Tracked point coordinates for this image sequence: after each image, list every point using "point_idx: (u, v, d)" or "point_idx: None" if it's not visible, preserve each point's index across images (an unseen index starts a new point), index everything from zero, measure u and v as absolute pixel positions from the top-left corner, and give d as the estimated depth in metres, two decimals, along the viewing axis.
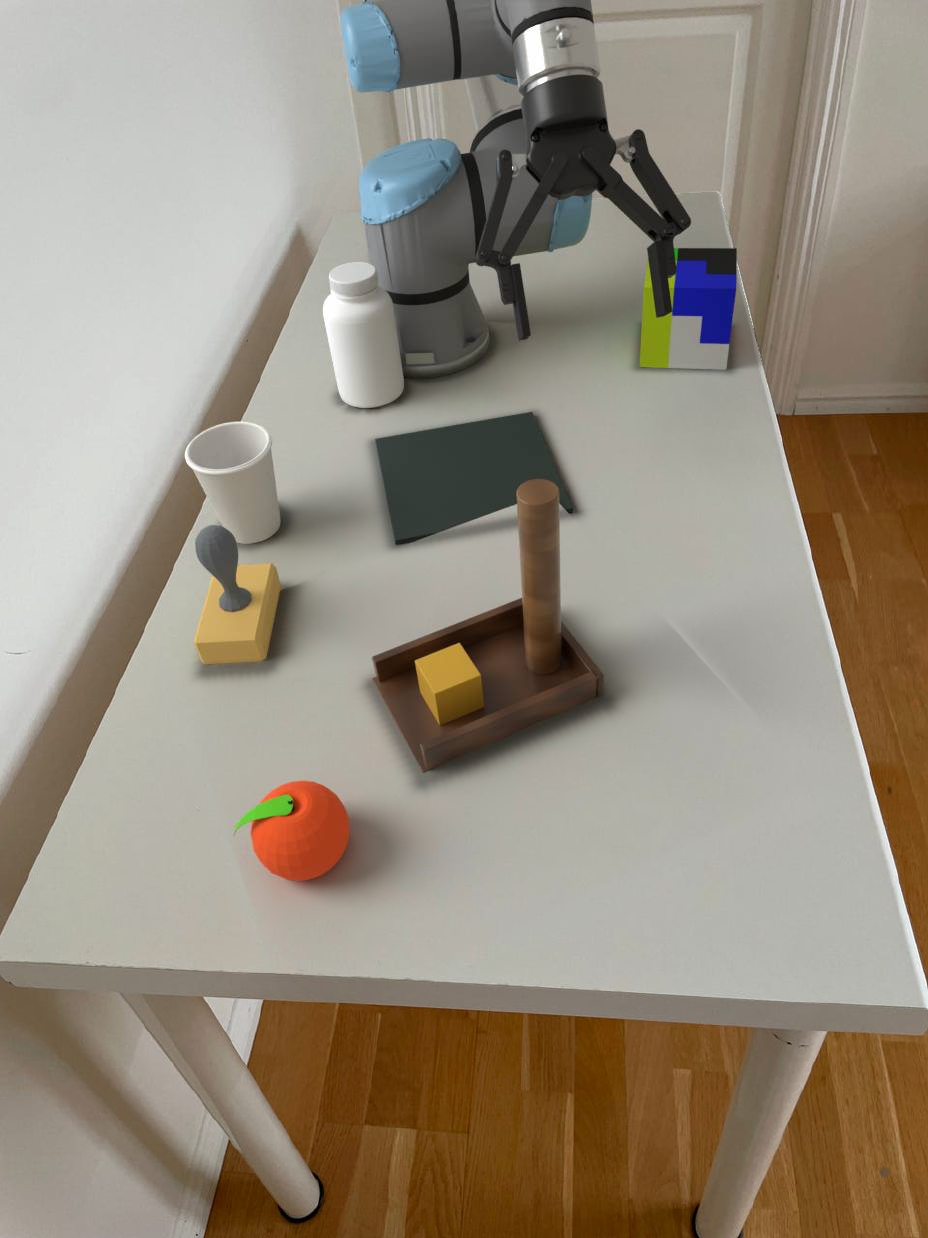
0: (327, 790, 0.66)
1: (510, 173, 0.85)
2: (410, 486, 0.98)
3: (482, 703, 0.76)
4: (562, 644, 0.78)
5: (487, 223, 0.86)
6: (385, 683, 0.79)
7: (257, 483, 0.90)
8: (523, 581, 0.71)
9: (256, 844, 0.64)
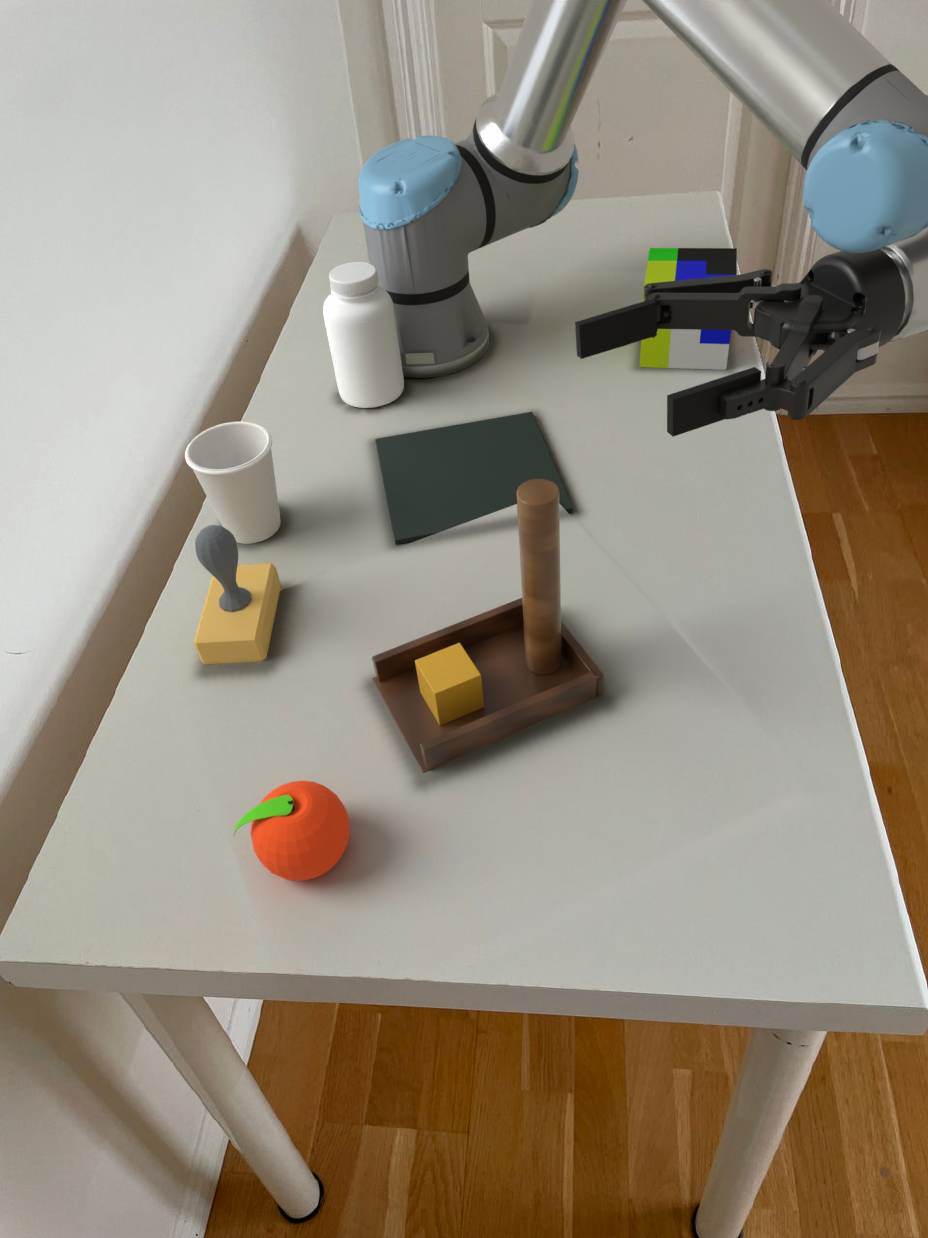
0: (327, 790, 0.66)
1: None
2: (410, 486, 0.98)
3: (482, 703, 0.76)
4: (562, 644, 0.78)
5: (823, 399, 0.62)
6: (385, 683, 0.79)
7: (257, 483, 0.90)
8: (523, 581, 0.71)
9: (256, 844, 0.64)
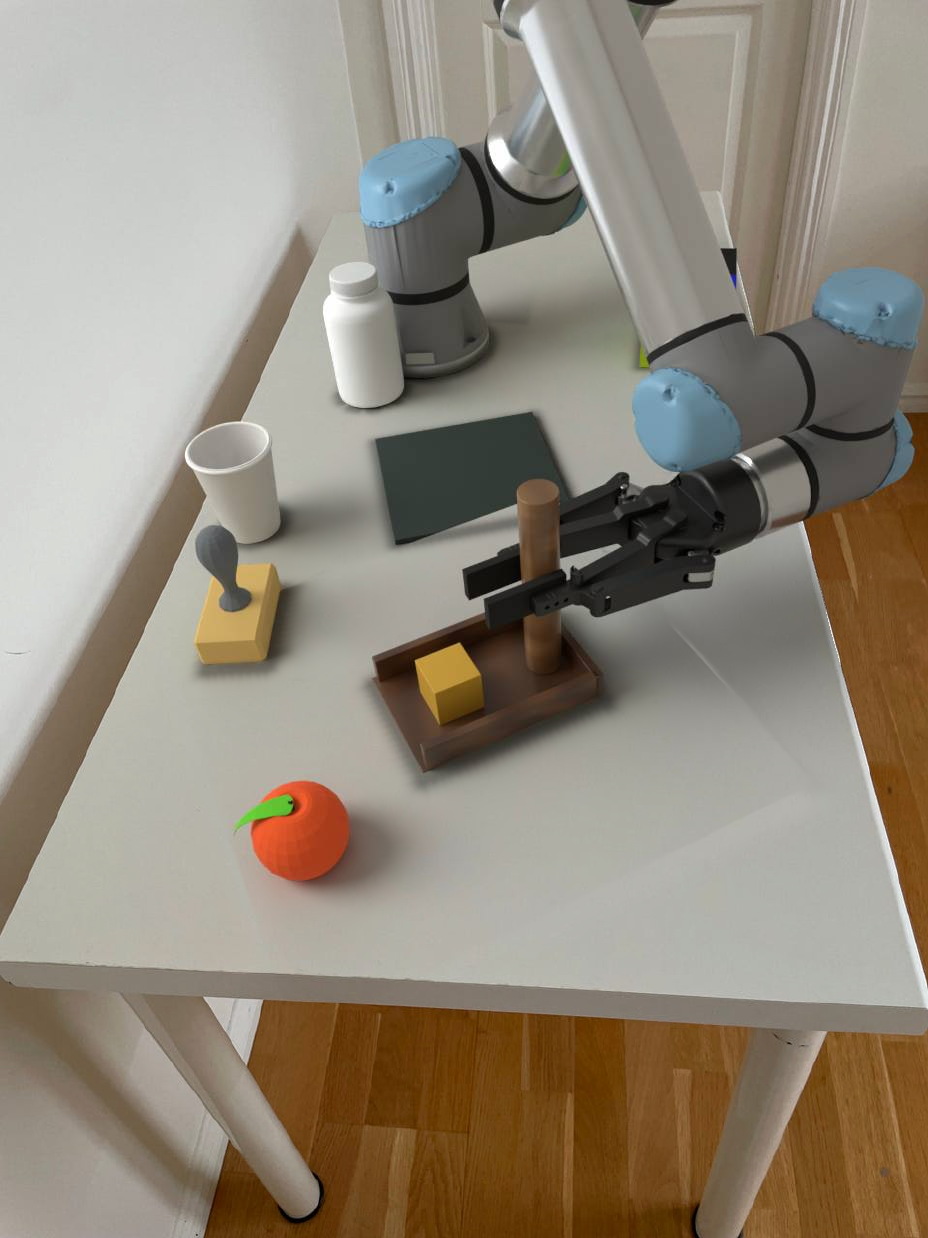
0: (327, 790, 0.66)
1: None
2: (410, 486, 0.98)
3: (482, 703, 0.76)
4: (562, 644, 0.78)
5: (631, 605, 0.70)
6: (385, 683, 0.79)
7: (257, 483, 0.90)
8: (523, 581, 0.71)
9: (256, 844, 0.64)
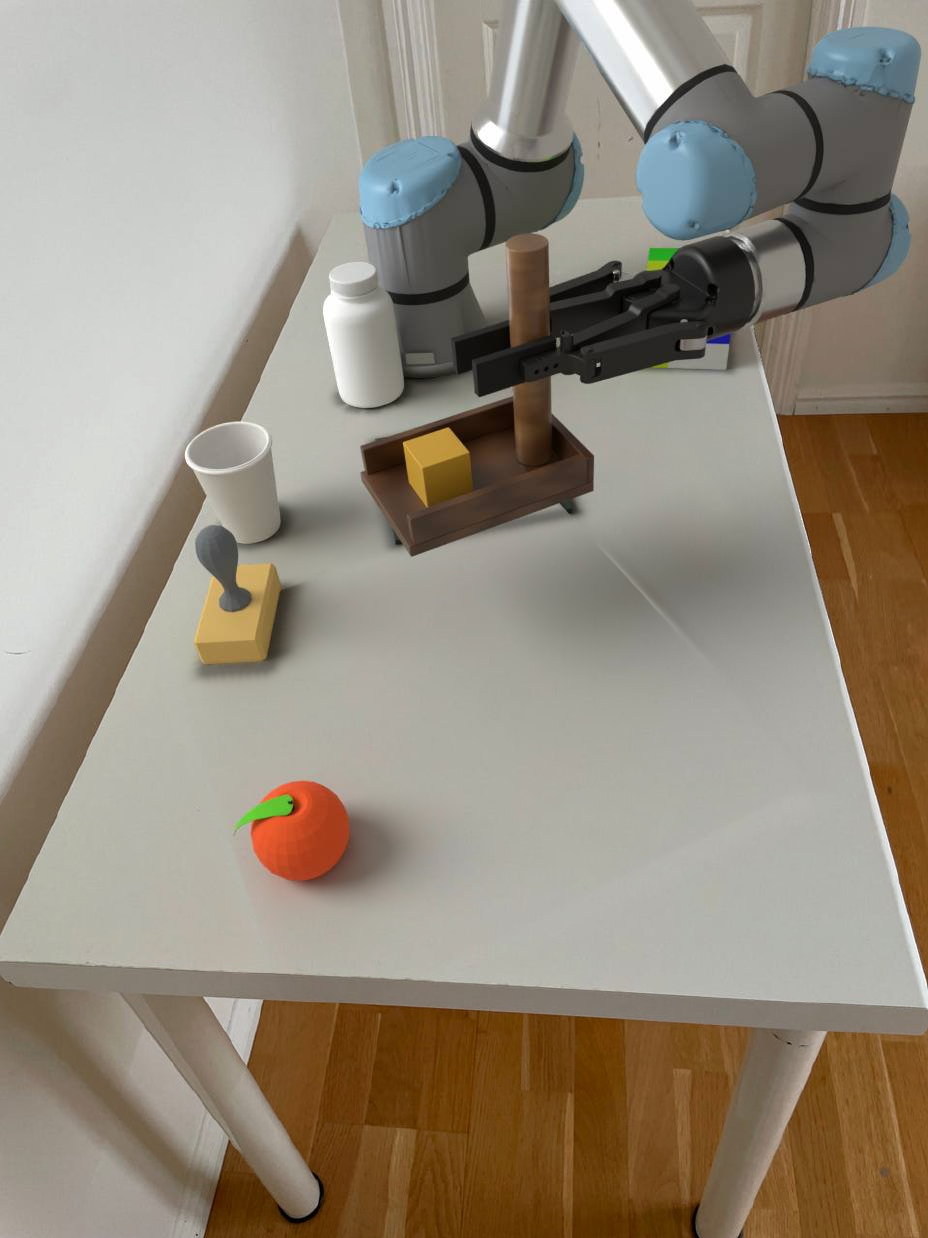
0: (327, 790, 0.66)
1: None
2: None
3: (471, 488, 0.75)
4: (553, 436, 0.77)
5: (622, 373, 0.69)
6: (373, 475, 0.78)
7: (257, 483, 0.90)
8: None
9: (256, 844, 0.64)
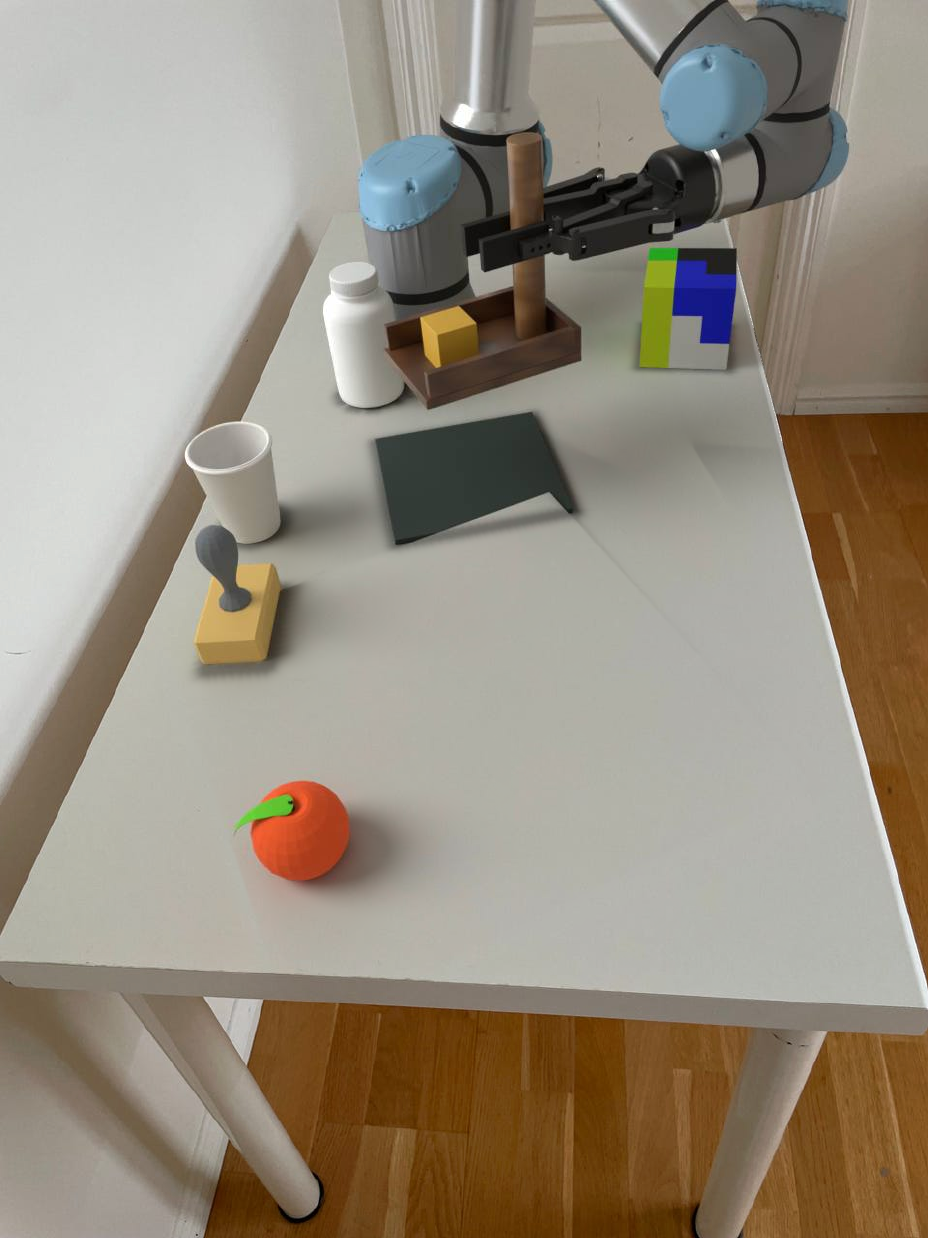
0: (327, 790, 0.66)
1: None
2: (410, 486, 0.98)
3: None
4: (547, 316, 0.91)
5: (604, 253, 0.83)
6: (395, 351, 0.91)
7: (257, 483, 0.90)
8: None
9: (256, 844, 0.64)
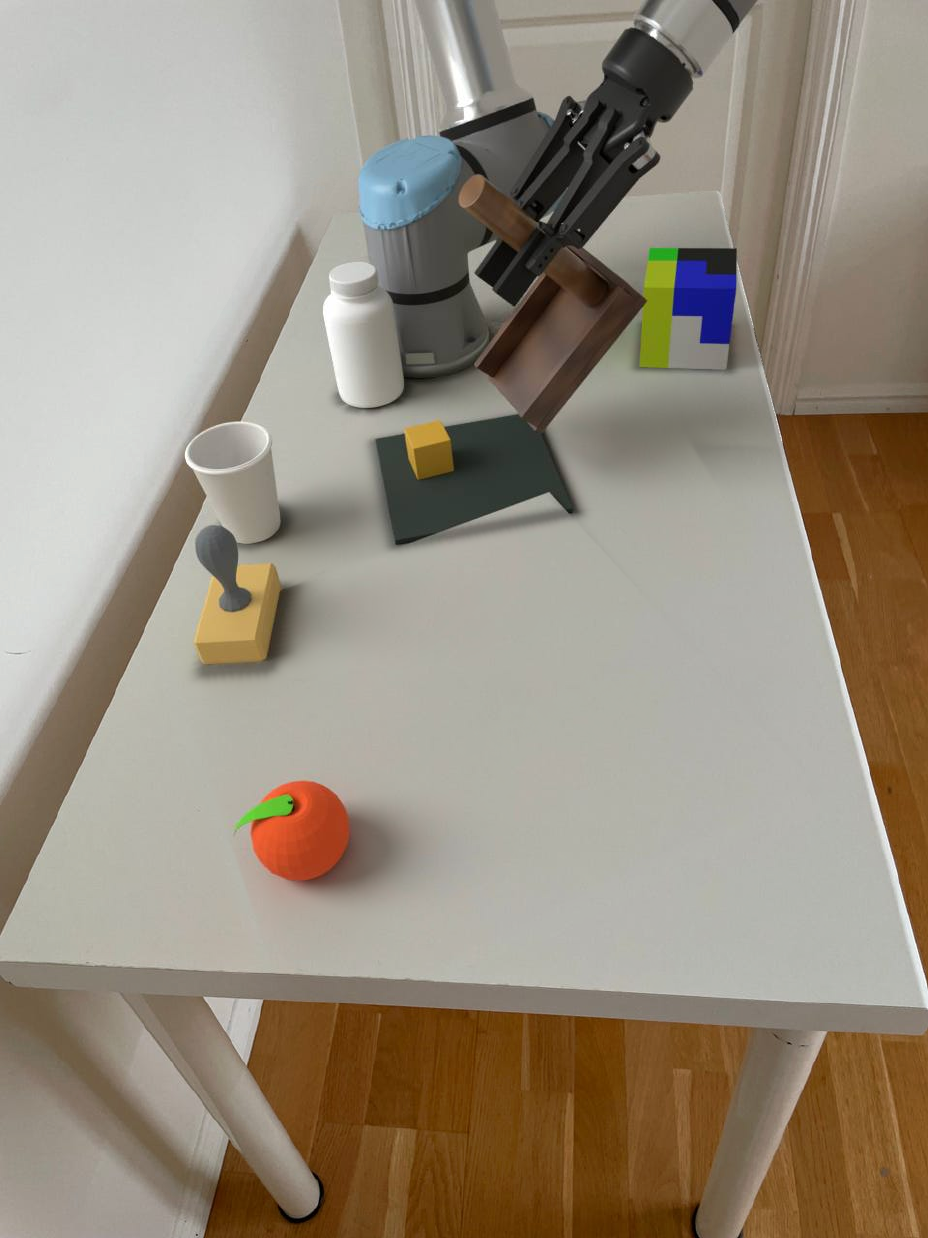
0: (327, 790, 0.66)
1: None
2: (410, 486, 0.98)
3: (445, 442, 0.97)
4: (598, 271, 0.90)
5: (603, 220, 0.81)
6: (496, 376, 0.99)
7: (257, 483, 0.90)
8: None
9: (256, 844, 0.64)
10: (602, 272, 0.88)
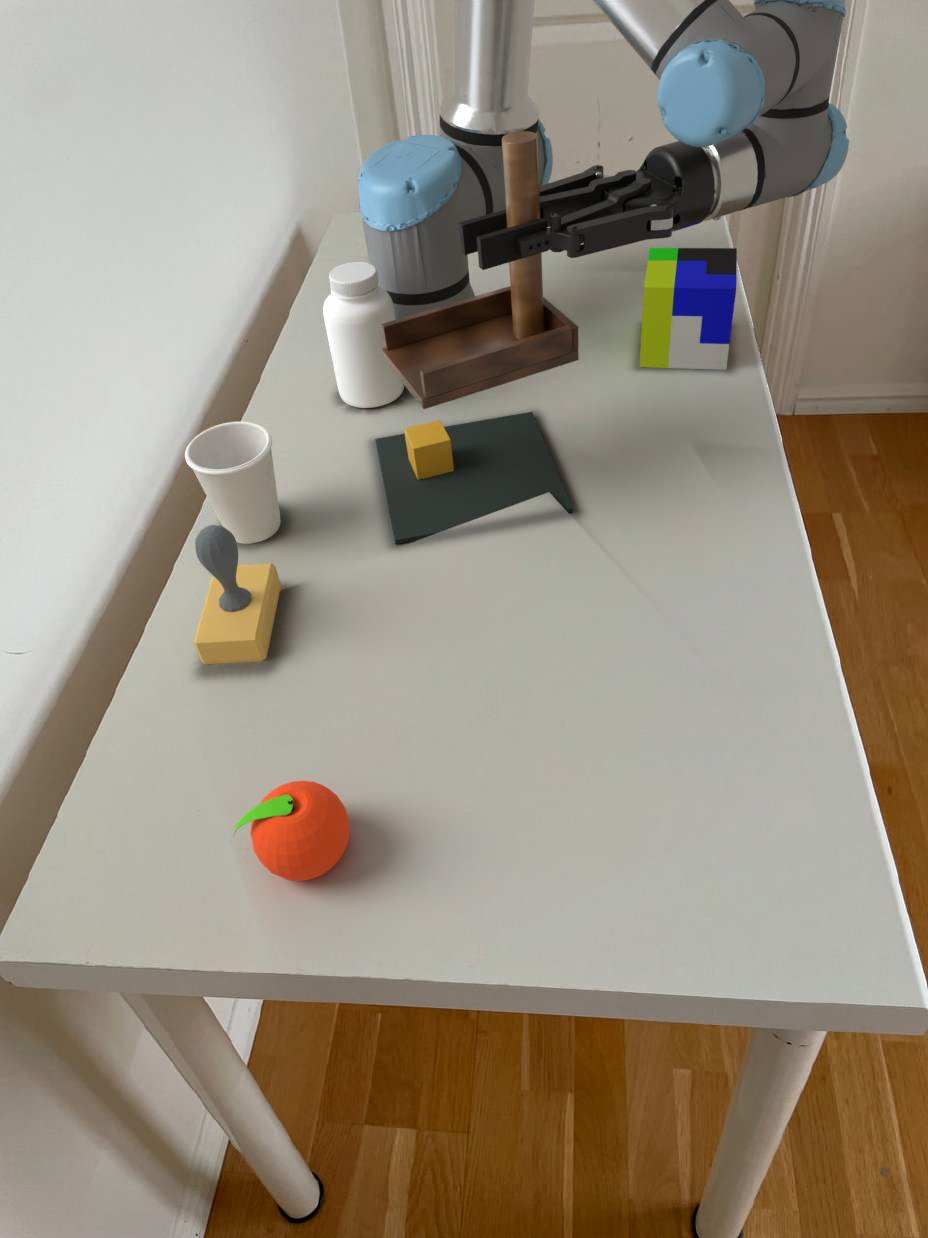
0: (327, 790, 0.66)
1: None
2: (410, 486, 0.98)
3: (445, 442, 0.97)
4: (545, 315, 0.91)
5: (602, 249, 0.83)
6: (392, 350, 0.92)
7: (257, 483, 0.90)
8: None
9: (256, 844, 0.64)
10: (554, 312, 0.89)
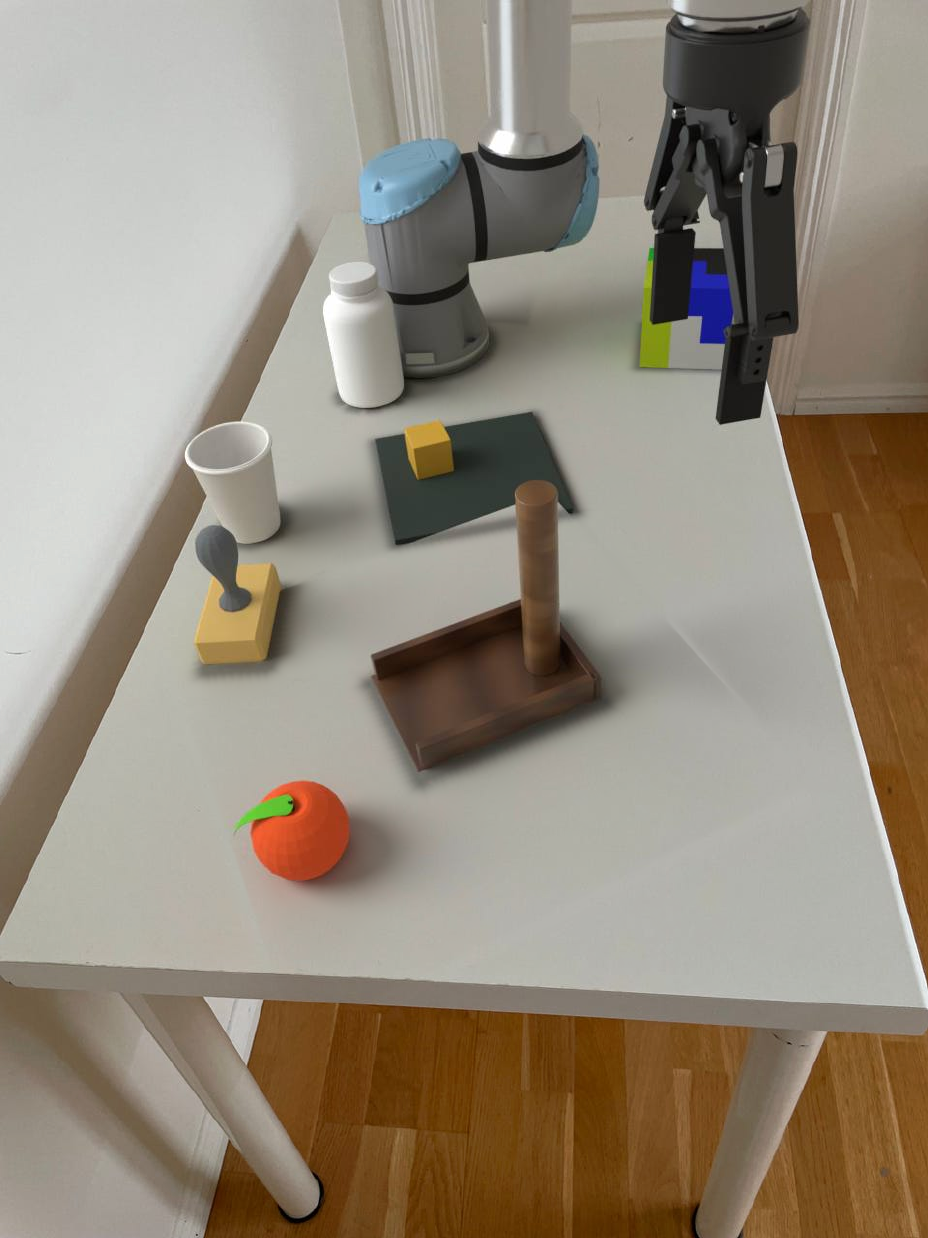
0: (327, 790, 0.66)
1: None
2: (410, 486, 0.98)
3: (445, 442, 0.97)
4: (561, 645, 0.78)
5: (795, 274, 0.52)
6: (384, 681, 0.79)
7: (257, 483, 0.90)
8: (521, 582, 0.71)
9: (256, 844, 0.64)
10: (572, 650, 0.76)
